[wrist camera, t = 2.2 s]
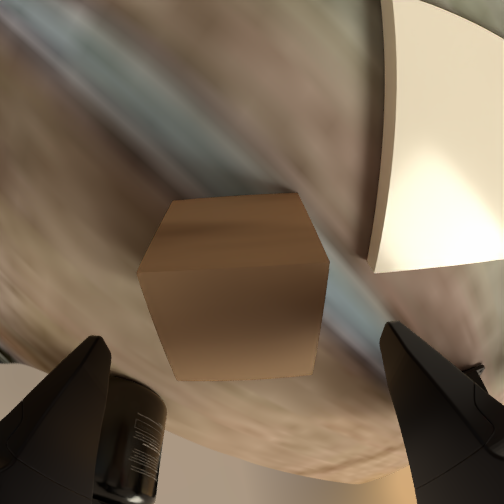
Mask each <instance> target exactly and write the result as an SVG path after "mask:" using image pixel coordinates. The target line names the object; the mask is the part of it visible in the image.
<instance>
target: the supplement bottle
mask: <svg viewBox="0 0 504 504" xmlns="http://www.w3.org/2000/svg"><path fill="white" fill-rule="evenodd" d="M166 415H167V409H166V406H165V404H164V402H163V400H162V399H161V398H160V397H159V396H158V395H157V394H155V393H154V392H153V391H151V390H149V389H148V388H146V387H144V386H142V385H140V384H138V383H135V382H132V381H130V380H126V379H123V378H118V377H113V376H109V382H108V392H107V399H106V405H105V410H104V415H103V421H102V426H101V432H100V438H99V444H98V451H97V458H96V466H95V474H94V483H93V493H92V504H154V503H155V499H156V493H157V484H158V475H159V467H160V459H161V451H162V444H163V436H164V430H165V422H166Z"/></svg>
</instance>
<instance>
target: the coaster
mask: <svg viewBox="0 0 504 504" xmlns="http://www.w3.org/2000/svg"><path fill="white" fill-rule="evenodd" d="M381 10H382V22H383V37H384V62H385V98H384V125H383V142H382V155H381V166H380V176H379V185H378V193H377V201H376V209H375V216H374V222H373V229H372V235H371V241H370V247H369V252H368V258H367V262H368V264H369V266H370V267H371V269H372V271H373V272H374V273H385V272H396V271H406V270H416V269H425V268H434V267H443V266H452V265H461V264H469V263H477V262H485V261H493V260H500V259H504V39H503V38H501V37H499V36H497V35H496V34H494V33H492V32H490V31H488V30H486V29H485V28H483V27H481V26H479V25H477V24H475V23H473V22H471V21H469V20H467V19H464V18H462V17H460V16H458V15H456V14H453V13H451V12H449V11H446V10H444V9H441V8H439V7H436V6H433V5H431V4H428V3H425V2H422V1H420V0H381Z"/></svg>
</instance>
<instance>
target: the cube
mask: <svg viewBox="0 0 504 504" xmlns="http://www.w3.org/2000/svg"><path fill="white" fill-rule="evenodd" d="M329 264H330V261H329V259H328V257H327V255H326V252H325V250H324V248H323V246H322V244H321V241H320V239H319V237H318V235H317V233H316V230H315V228H314V226H313V224H312V222H311V220H310V218H309V216H308V213H307V211H306V209H305V207H304V205H303V203H302V201H301V199H300V197H299V195H298V193H278V194H257V195H240V196H224V197H211V198H198V199H186V200H175V201H172V203H171V205H170V207H169V209H168V210H167V212H166V214H165V216H164V218H163V220H162V222H161V224H160V226H159V228H158V229H157V231H156V233H155V235H154V237H153V239H152V241H151V243H150V245H149V247H148V249H147V251H146V253H145V255H144V258H143V260H142V262H141V264H140V266H139V268H138V270H137V272H136V273H137V276H138V280H139V283H140V286H141V289H142V292H143V295H144V298H145V301H146V303H147V306H148V309H149V312H150V315H151V317H152V320H153V323H154V326H155V328H156V331H157V333H158V336H159V339H160V341H161V344H162V346H163V349H164V351H165V354H166V356H167V359H168V361H169V363H170V366H171V368H172V370H173V373H174V375H175V377H176V380H177V381H232V380H256V379H271V378H284V377H295V376H305V375H312V373H313V368H314V363H315V358H316V352H317V346H318V341H319V335H320V329H321V322H322V316H323V309H324V302H325V295H326V288H327V280H328V272H329Z"/></svg>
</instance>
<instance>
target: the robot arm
mask: <svg viewBox="0 0 504 504" xmlns="http://www.w3.org/2000/svg"><path fill="white" fill-rule="evenodd" d="M380 350H381V354H382V359H383V364H384V369H385V374H386V379H387V383H388V388H389V391H390V395H391V398H392V401H393V405H394V408H395V411H396V415H397V418H398V422H399V426H400V429H401V433H402V437H403V441H404V444H405V448H406V452H407V456H408V461H409V465H410V469H411V473H412V478H413V483H414V487H415V494H416V499H417V504H504V405H502V404H501V403H500V402H498V401H497V400H496V399H494V398H493V397H492V396H490V395H489V394H488V392H487V390H486V388H485V386H484V384H483V382H482V380H481V378H480V374H481V373H482V372H483V370H484V369H485V367H484V365H480V366H478V367H475V368H473V369H470V370H467V371H465V372H462V371H460V370H459V369H458V368H457V367H456V366H454V365H453V364H452V363H451V362H450V361H448V360H447V359H446V358H445V357H443V356H442V355H441V354H440V353H439V352H437V351H436V350H435V349H434V348H432V347H431V346H430V345H429V344H427V343H426V342H425V341H424V340H422V339H421V338H420V337H419V336H417V335H416V334H415V333H414V332H412V331H411V330H410V329H409V328H407V327H406V326H405V325H404V324H402V323H401V322H400V321H391V322H387V323H386V324H385V326H384V329H383V332H382V335H381V338H380ZM110 365H111V352H110V350H109V348H108V347H107V345H106V343H105V341H104V339H103V338H102V337H101V336H94V335H91V336H89V337H88V338H86V339H85V340H84V341H83V342H82V343H81V344H80V345H79V346H78V347H77V348H76V349H75V350H74V351H72V352H71V353H70V354H69V355H68V356H67V357H66V358H65V359H64V360H63V361H62V362H61V363H60V364H59V365H58V366H57V367H56V368H54V369H53V370H52V371H51V372H50V373H49V374H48V375H47V376H46V377H45V378H44V379H43V380H42V381H41V382H40V383H39V384H38V385H37V386H36V387H35V388H34V389H33V390H32V391H31V392H30V393H29V394H28V395H27V396H26V397H25V398H24V399H23V401H21V402H20V403H19V404H18V405H17V406H16V407H15V408H14V409H13V410H12V411H11V412H10V413H9V414H8V415H7V416H6V417H4V418H3V419H2V420H1V421H0V504H92V493H93V483H94V474H95V466H96V458H97V451H98V444H99V438H100V432H101V426H102V421H103V415H104V410H105V405H106V399H107V392H108V382H109V373H110Z"/></svg>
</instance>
